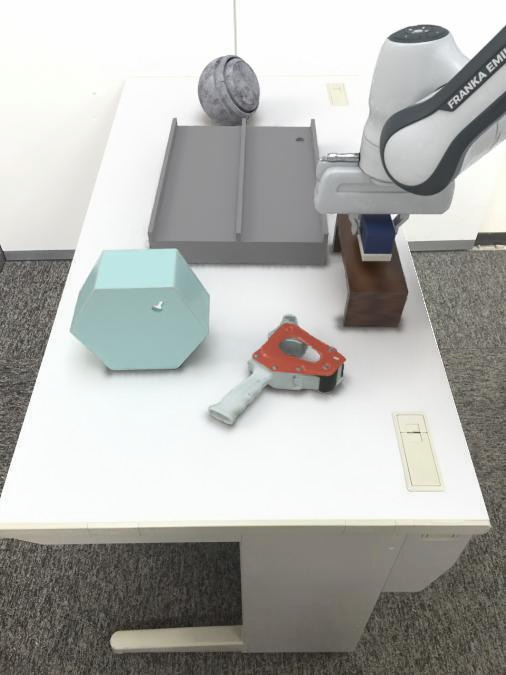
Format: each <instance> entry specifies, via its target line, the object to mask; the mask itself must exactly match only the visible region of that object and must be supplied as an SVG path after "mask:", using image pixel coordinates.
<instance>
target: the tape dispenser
mask: <svg viewBox="0 0 506 675" xmlns="http://www.w3.org/2000/svg"><path fill="white" fill-rule="evenodd" d="M309 347H310V348H311V349H313V350H315V351H316V352H317V354H318V355H319V360H318V361H315V362H313V361H309V360H305V359H303V356H304V355H305V354H306V353H307V351H308V348H309ZM251 355H252V356H251V357H250V358H248V359H247V361H246V362H247V368H248V369H249V371H251V375H249V376H247V377H246V378H245V379H244V380H242V381H241V382H239V383H238V384H237V385H236V386H234V387H233V388H232V389H231V390H230V391H229V392H227V394H225V395H224V396H223V397H222V398H221V400H220V401H219V402H217V403H216V404H212V405H209V406H208V408H207V409H208V413H209V414H210V415H211V417H213V418H214V419H216V420H218V421H220V422H222V423H225V424H227V425H234V424H235V421H236V419H237V417H238V416H239V415H240V414H241V413H242V412H244V411H245V410H246V408H247V406H248V405H249V404H251V403H252V402H253V401H254V398H255V397H257V396H258V395H261V393H262V391H263V389H264V388H265V387H266V386H267V385H268V386H269V387H271V388H273V389H279V390H291V391H301V390H304V389H305V390H315V391H317V392H318V393H321V394H329V393H331V392H332V391H334V389H335V388H337V387H338V385H340V383H342V382H343V381H344V379H345V375H344V370H345V363H346V361H347V358H346V357H345V356H344V355H343V354H341V353H340V352H339V351H338V350H337V348H336V347H334V346H331V345H329V344H328V343H326V342H323V341H322V340H320V339H318V338H317V337H315V336H313V335H311V334H310V333H309V332H308V331H306V330H304V329H303V328H302V327H300V325H299V323H298V319H297V316H296V315H294V314H292V313H287V314H284V315H283V316H282V319H281V321H280V323H279V324H278V325H277V327H276V328H274V329H273V330H271V331H269V332H268V334H267V341H265V343H263V344H262V345H261V347H260V348H259V349H257V350H255V351H254V352H253V353H252V354H251Z"/></svg>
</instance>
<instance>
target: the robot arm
mask: <svg viewBox="0 0 506 675" xmlns="http://www.w3.org/2000/svg"><path fill="white" fill-rule="evenodd" d="M368 110H369V111H368V116H367V119H366V120H365V123H364V124H363V130H362V133H361V135H362V136H361V142H360V146H359V152H344V153H337V152H329V153H327V155H325V156H321V158H320V157H319V160H318V161H317V163H316V168H315V177H316V179H317V182H316V186H315V192H314V206H315V209H316V210H317V211H318V212H319V213H320V214H326V215H337V214H348V216H349V220H350V221H351V223H352V235H361V234H362V230H363V224H362V220H357V219H356V218H358V215H359V214H391V215H396V216H394V218H392V222H393V226H394V229H395V233H396V236H397V235H398V233H399V229H400V227H401V226H402V225H404V224H405V223H406V222H407V221H408V220H409V219H410V215H443V214H445V213H446V212H448V210H449V209H450V208H451V205H452V202H453V199H454V194H455V190H456V179H457V178H458V177H459V176H460V175H461V174H463V172H465V171H466V170H468V169H469V168H470V167H472V166H473V165H474V164H476V163H477V162H479V161H480V160H481V159H482V158H483V157H485V156H486V155H488V154H489V153H490V152H491V151H493V149H495V148H496V147H498V146H499V145H501V143H502V142H504V140H506V24H505V25H504V26H503V27H502V28H501V29H500V30H499V31H498V32H497V33H496V34H494V36H493V37H492V38H491V39H490V40H489V41H488V42H487V43H486V44H484V46H483V47H482V48H481V49H480V50H479V51H478V52H477V53H476V54H475V55H474V56H473V57H472V58H471V59H470V58H469V57H468V56H466V55H465V53H464V52H462V49H460V48H459V46H458V45H457V43H456V40H455V38H454V35H453V34H452V32H451V31H450V30H449V29H447V28H446V27H443V26H442V25H437V24H426V23H425V24H416V25H409V26H406V27H404V28H400V29H399V30H396V31H394V32H392V33H391V34H390V35H388V37H386V38H385V39H384V40H383V43H382V44H381V47H380V49H379V52H378V54H377V59H376V61H375V65H374V68H373V73H372V78H371V83H370V88H369V94H368Z"/></svg>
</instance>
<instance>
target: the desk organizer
mask: <svg viewBox="0 0 506 675" xmlns="http://www.w3.org/2000/svg"><path fill="white" fill-rule="evenodd" d="M317 135H318V134H317V126H316V119H315V118H311V119H310V125H309V126H280V125H279V126H278V125H277V126H276V125H275V126H269V125H268V126H267V125H265V126H262V125H258V126H257V125H248V126H247V120H246V118H242V123H241V125H179V124H178V118H177V117H173V118H172V121H171V126H170V130H169V134H168V138H167V143H166V146H165V152H164V156H163V161H162V165H161V170H160V175H159V178H158V183H157V188H156V192H155V197H154V200H153V205H152V209H151V215H150V219H149V223H148V227H147V238H148V245H149V249H178V251H179V252H180V253H181V255H182V256H183V258H184V259H185V261H186V262H187V263H188V264H228V265H229V264H232V265H234V264H235V265H236V264H237V265H239V264H241V265H321V266H322V265H324V266H325V264H326V259H327V250H328V245H329V235H330V234H329V233H330V232H329V226H328V217H327V214H320V213H319V212H318V211H317V210H316V209H315V206H314V192H315V186H316V182H317V179H316V177H315V168H316V163H317V161H318V160H319V159H320V151H319V144H318V143H319V142H318V136H317Z"/></svg>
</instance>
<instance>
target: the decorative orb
mask: <svg viewBox="0 0 506 675" xmlns="http://www.w3.org/2000/svg"><path fill="white" fill-rule="evenodd" d="M260 95H261V88H260V83H259V80H258V77H257V74H256V72H255V70H254V69H253V67H251V65H250V64H249V63H247V62H246V61H245V60H244V59H243V58H242V57H240V56H238V55H234V54H227V55H222V56H219V57H216V58H214V59H212V60H211V61H210V62H209V63H207V65H206V66H205V67H204V68H203V70H202V72H201V74H200V76H199V79H198V83H197V96H198V100H199V104H200V107H201V108H202V110H203V111H204V113H205V114H206V115H207V117H209V119H211V120H213V121H214V122H215V123H218V124H221V125H223V126H237V125H240V124H242V118H246V121H247V120H248V119H250V118H251V117H253V116H254V115H255V113H256V112H257V110H258V108H259V105H260V98H261V97H260Z"/></svg>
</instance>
